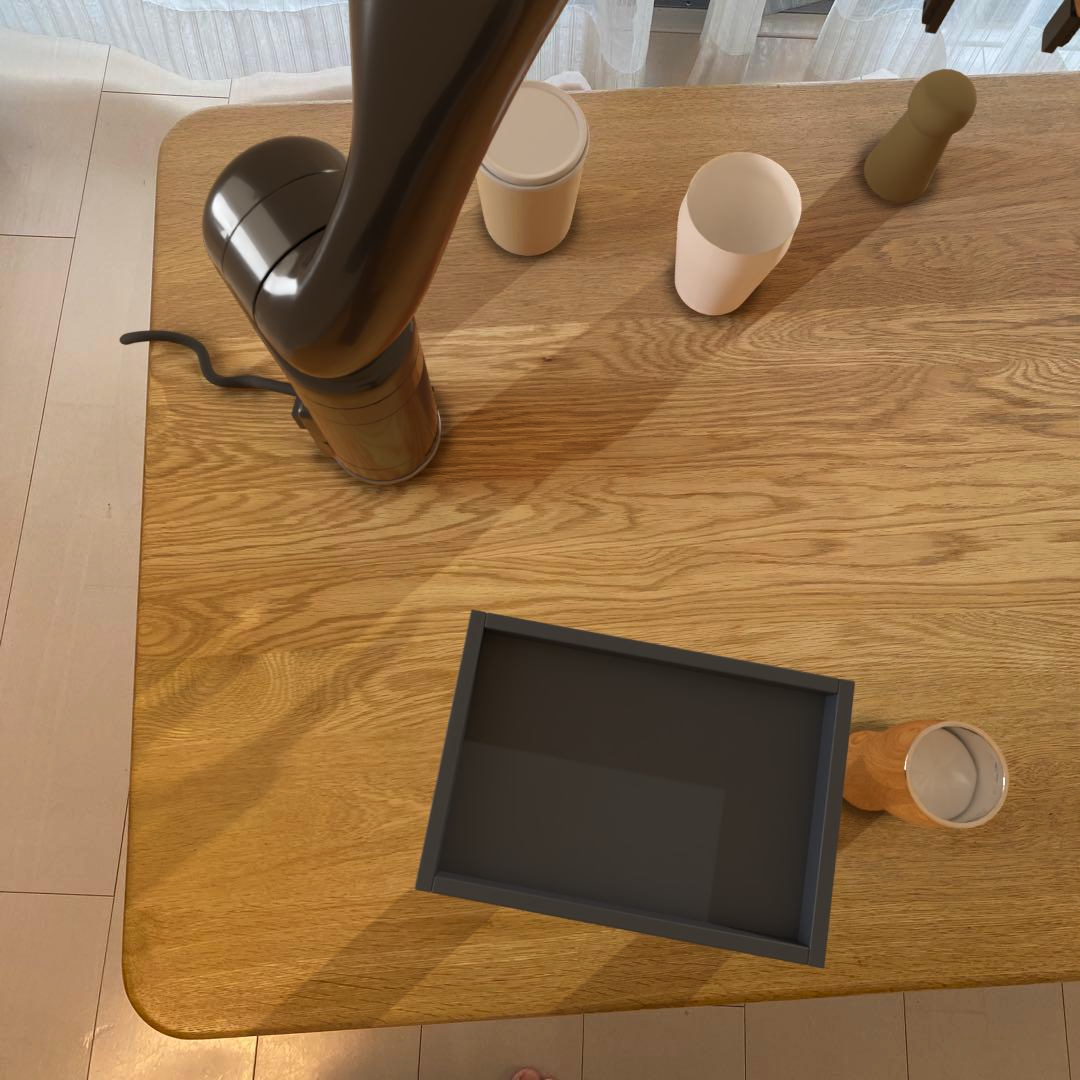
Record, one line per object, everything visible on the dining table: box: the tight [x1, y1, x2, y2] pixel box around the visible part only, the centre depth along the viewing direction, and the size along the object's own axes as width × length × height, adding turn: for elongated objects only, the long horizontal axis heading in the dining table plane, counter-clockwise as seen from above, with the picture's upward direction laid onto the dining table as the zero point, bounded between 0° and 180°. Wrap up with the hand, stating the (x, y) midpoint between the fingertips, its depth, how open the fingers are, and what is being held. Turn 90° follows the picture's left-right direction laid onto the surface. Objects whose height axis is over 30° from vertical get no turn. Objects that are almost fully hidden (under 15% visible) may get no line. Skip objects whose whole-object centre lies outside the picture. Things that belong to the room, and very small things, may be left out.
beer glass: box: [843, 718, 1010, 829], centre depth 65 cm, size 7×7×15 cm
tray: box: [414, 609, 856, 969], centre depth 59 cm, size 20×14×28 cm
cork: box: [863, 68, 978, 203], centre depth 79 cm, size 6×6×11 cm
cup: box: [674, 151, 803, 316], centre depth 76 cm, size 9×9×12 cm
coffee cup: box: [475, 79, 591, 257], centre depth 77 cm, size 9×9×12 cm
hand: (987, 33), depth 68 cm, fingers open, 8 cm apart
